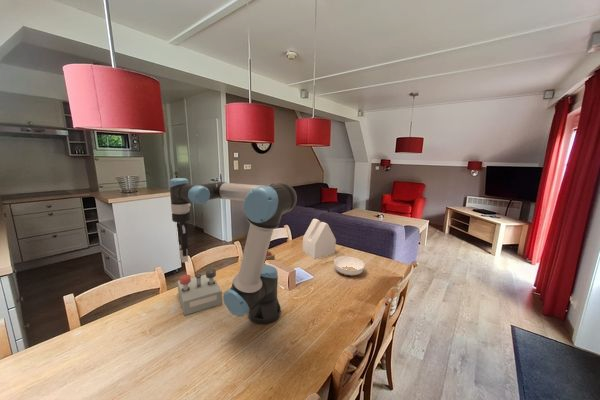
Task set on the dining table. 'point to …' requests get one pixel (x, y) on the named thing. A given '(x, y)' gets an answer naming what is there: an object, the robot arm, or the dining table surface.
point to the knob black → (211, 275)
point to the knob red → (185, 281)
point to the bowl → (349, 265)
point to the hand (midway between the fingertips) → (184, 259)
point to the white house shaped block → (319, 240)
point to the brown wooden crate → (270, 256)
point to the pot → (198, 280)
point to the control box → (199, 295)
